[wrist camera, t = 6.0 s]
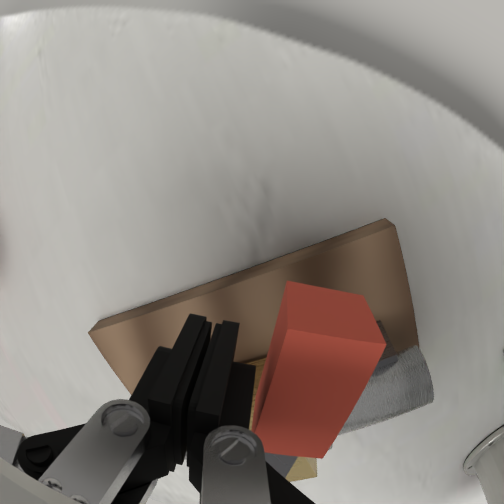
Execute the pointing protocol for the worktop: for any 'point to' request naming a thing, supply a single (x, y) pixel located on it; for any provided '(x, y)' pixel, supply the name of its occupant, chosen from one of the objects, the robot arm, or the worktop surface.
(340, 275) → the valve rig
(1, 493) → the robot arm
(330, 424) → the valve lever
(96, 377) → the worktop surface
